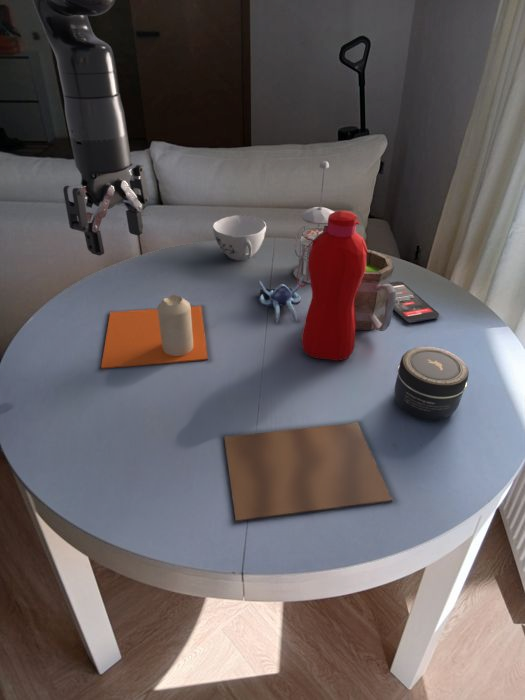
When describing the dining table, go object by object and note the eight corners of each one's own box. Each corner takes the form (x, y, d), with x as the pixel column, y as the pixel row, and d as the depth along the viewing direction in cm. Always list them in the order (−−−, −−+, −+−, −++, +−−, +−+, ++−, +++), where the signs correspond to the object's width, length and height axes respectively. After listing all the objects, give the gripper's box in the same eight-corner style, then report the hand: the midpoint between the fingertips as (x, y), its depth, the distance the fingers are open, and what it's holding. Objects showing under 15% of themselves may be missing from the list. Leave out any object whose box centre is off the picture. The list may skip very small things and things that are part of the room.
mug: (320, 307, 101) (325, 253, 94) (366, 298, 104) (374, 245, 97) (359, 349, 89) (368, 291, 82) (409, 338, 92) (422, 281, 85)
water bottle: (296, 329, 94) (304, 200, 79) (354, 336, 92) (373, 206, 78) (289, 358, 86) (297, 221, 72) (352, 365, 85) (373, 227, 70)
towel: (101, 368, 83) (100, 367, 83) (110, 313, 98) (110, 312, 97) (207, 359, 86) (207, 358, 86) (201, 307, 100) (201, 305, 100)
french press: (344, 273, 113) (359, 161, 98) (312, 290, 106) (322, 173, 92) (312, 260, 119) (320, 152, 104) (279, 275, 112) (283, 162, 97)
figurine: (271, 329, 96) (263, 295, 92) (256, 304, 106) (248, 271, 101) (316, 314, 97) (310, 279, 92) (297, 290, 107) (290, 258, 102)
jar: (404, 375, 83) (413, 338, 79) (464, 397, 79) (477, 359, 74) (382, 408, 76) (390, 369, 72) (446, 434, 72) (459, 395, 67)
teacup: (209, 247, 123) (207, 217, 119) (256, 242, 126) (257, 212, 122) (223, 274, 112) (222, 241, 107) (275, 268, 115) (276, 235, 110)
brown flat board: (235, 521, 60) (235, 520, 59) (224, 438, 71) (224, 436, 70) (392, 501, 62) (392, 499, 62) (357, 424, 73) (357, 422, 73)
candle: (160, 356, 86) (154, 307, 80) (164, 338, 90) (158, 290, 84) (192, 356, 86) (188, 307, 80) (194, 338, 90) (191, 290, 84)
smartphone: (408, 320, 96) (371, 285, 107) (408, 323, 96) (371, 288, 107) (440, 315, 97) (400, 280, 109) (440, 318, 98) (400, 283, 109)
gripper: (114, 118, 73) (129, 223, 82) (36, 138, 63) (64, 255, 72) (154, 124, 70) (165, 232, 79) (79, 146, 60) (102, 267, 69)
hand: (117, 243), depth 76 cm, fingers open, 8 cm apart
